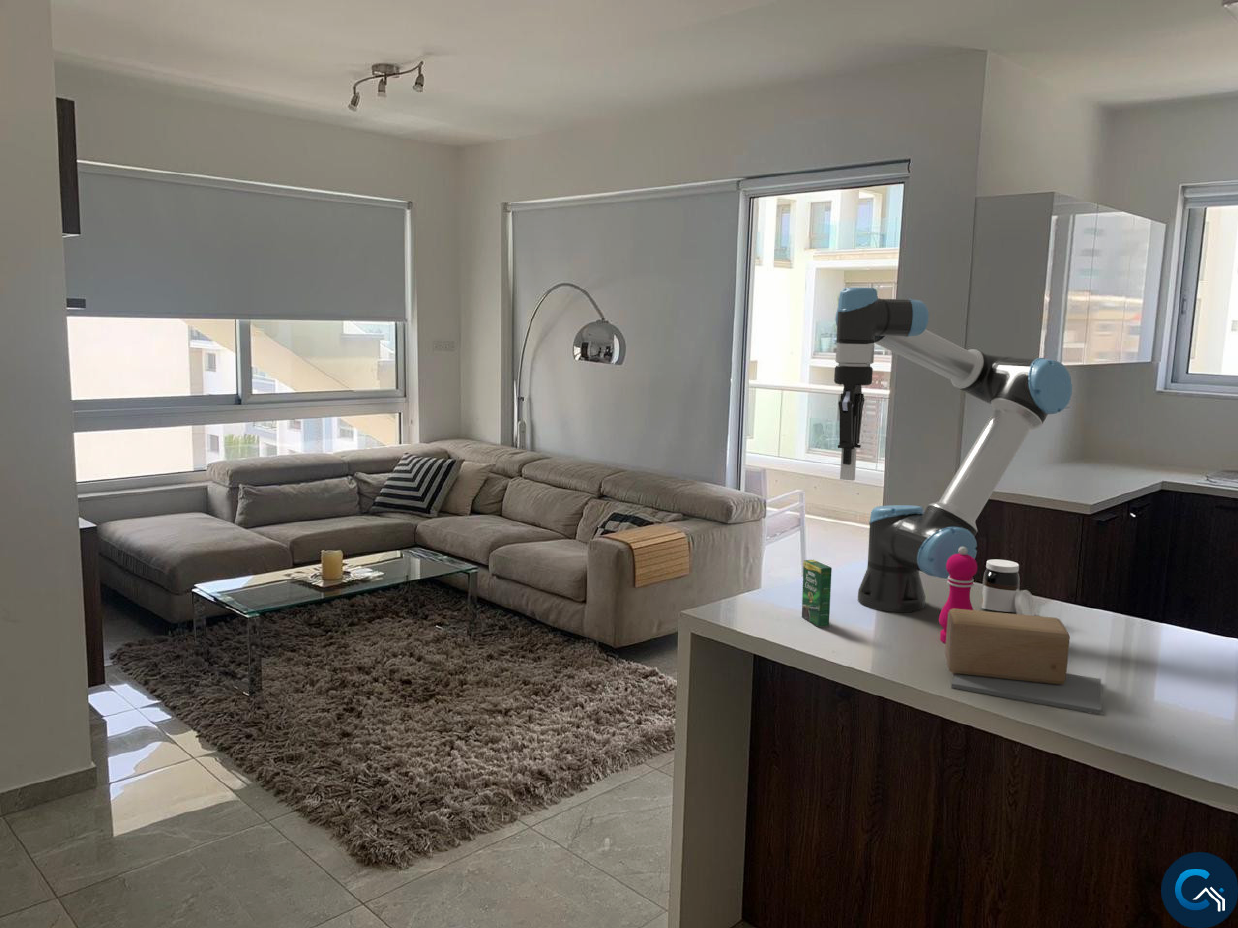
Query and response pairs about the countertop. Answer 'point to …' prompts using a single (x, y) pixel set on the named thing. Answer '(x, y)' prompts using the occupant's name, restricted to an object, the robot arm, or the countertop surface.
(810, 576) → the coffee box
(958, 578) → the pepper mill
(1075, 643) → the countertop surface
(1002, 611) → the spread jar
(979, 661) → the wooden block
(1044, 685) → the mat
